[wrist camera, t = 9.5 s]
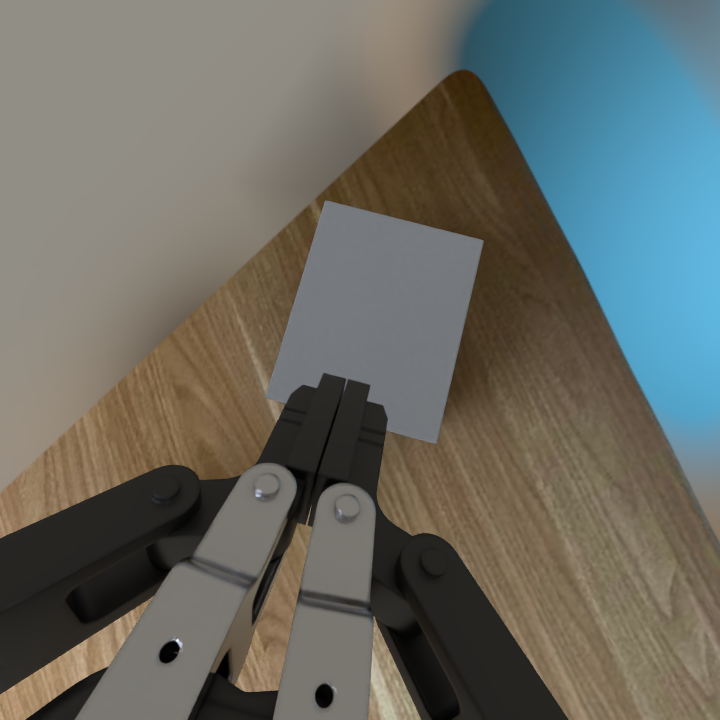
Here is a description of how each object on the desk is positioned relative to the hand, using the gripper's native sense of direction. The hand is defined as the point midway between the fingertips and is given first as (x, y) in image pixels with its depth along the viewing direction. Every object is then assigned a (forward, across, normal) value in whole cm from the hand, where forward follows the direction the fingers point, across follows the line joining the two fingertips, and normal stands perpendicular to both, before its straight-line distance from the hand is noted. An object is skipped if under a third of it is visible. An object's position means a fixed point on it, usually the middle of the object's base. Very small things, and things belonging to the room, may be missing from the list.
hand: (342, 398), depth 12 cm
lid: (+13, 0, +5) cm, 14 cm away
